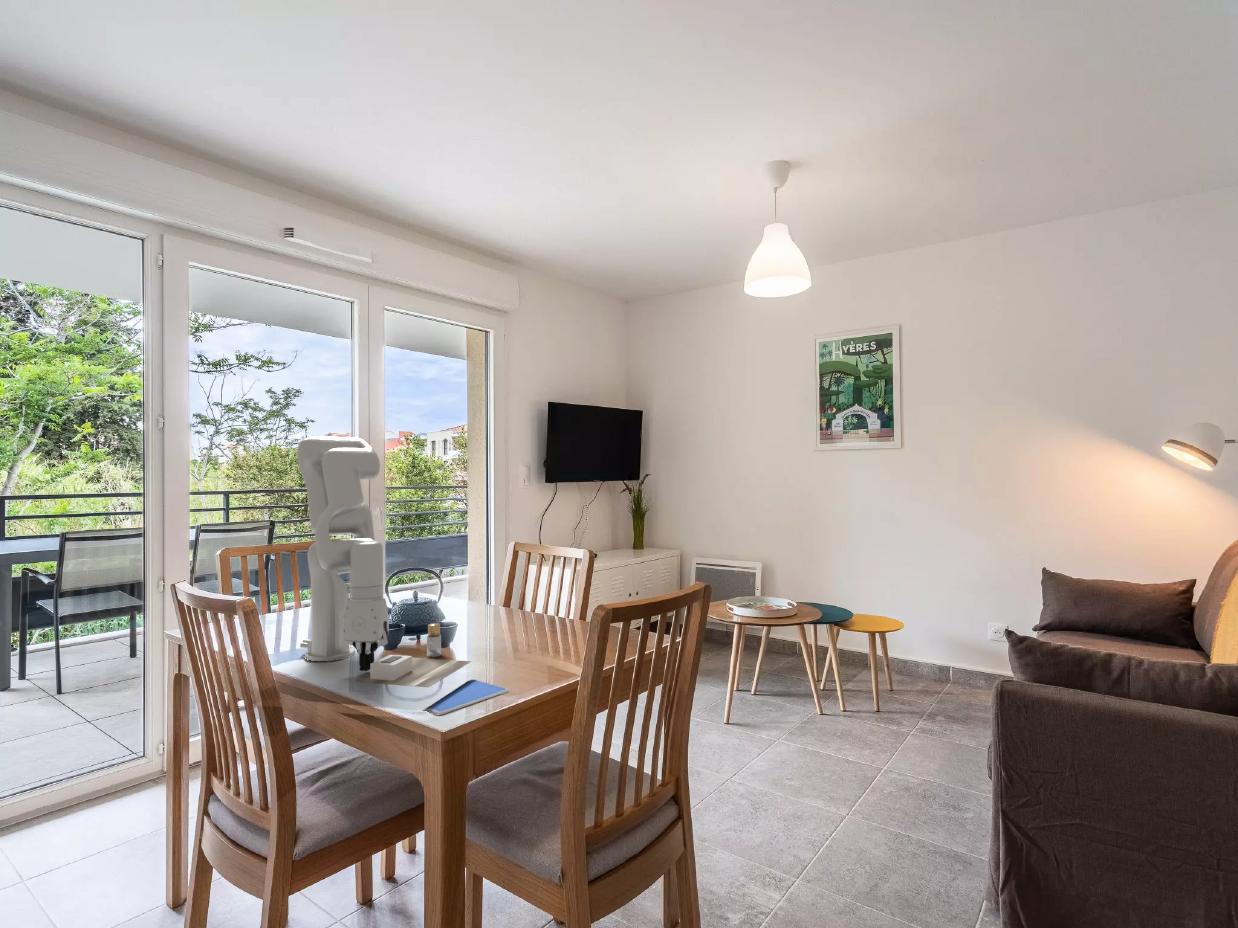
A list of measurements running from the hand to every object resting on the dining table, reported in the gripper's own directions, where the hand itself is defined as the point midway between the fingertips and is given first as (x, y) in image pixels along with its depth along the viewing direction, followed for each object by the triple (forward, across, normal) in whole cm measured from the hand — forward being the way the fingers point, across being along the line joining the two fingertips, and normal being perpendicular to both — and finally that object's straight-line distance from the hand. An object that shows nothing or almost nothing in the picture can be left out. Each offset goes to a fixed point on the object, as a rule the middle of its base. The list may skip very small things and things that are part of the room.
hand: (366, 669), depth 159 cm
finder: (+1, +7, 0) cm, 7 cm away
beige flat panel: (+2, +11, +4) cm, 12 cm away
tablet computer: (+3, +28, -7) cm, 29 cm away
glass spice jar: (+2, +8, +18) cm, 20 cm away
